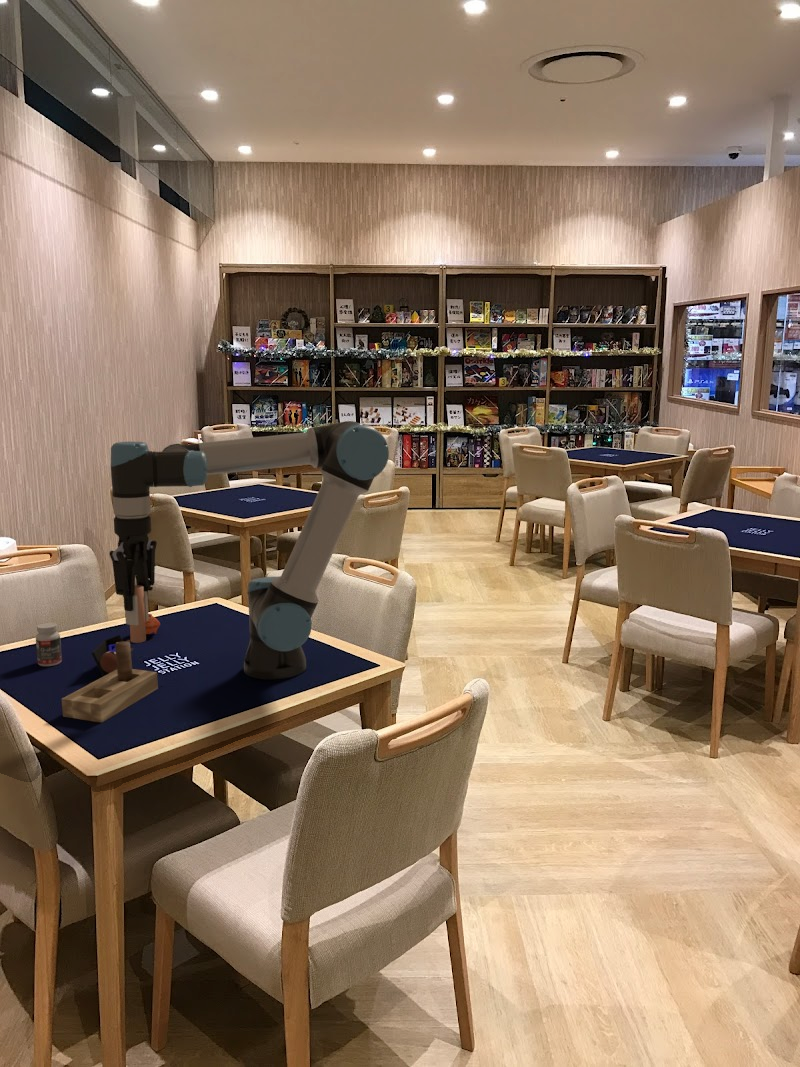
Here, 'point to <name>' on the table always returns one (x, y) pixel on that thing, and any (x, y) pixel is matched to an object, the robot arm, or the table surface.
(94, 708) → the maple hole block
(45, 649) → the pill bottle
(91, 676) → the table surface
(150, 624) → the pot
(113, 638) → the character figurine
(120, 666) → the walnut peg
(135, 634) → the terracotta peg
